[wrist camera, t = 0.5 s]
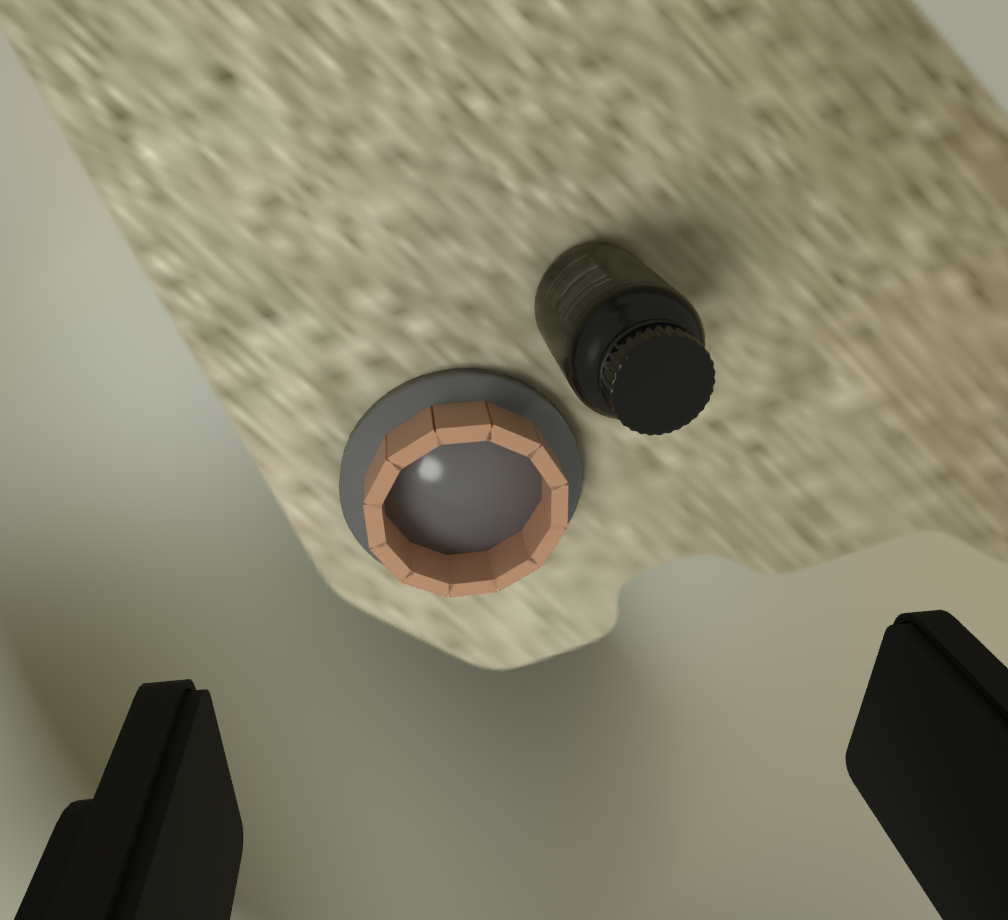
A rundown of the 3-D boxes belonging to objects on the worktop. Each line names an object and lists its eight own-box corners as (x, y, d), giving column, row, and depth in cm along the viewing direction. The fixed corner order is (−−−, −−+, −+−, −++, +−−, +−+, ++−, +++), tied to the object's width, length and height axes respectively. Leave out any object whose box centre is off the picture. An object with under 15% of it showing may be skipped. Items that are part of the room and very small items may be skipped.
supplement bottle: (542, 368, 43) (593, 472, 33) (522, 255, 40) (572, 331, 30) (655, 342, 44) (740, 436, 33) (644, 227, 40) (736, 292, 30)
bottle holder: (323, 379, 42) (318, 411, 38) (581, 359, 43) (599, 388, 40) (356, 584, 49) (354, 628, 46) (574, 560, 51) (589, 600, 47)
